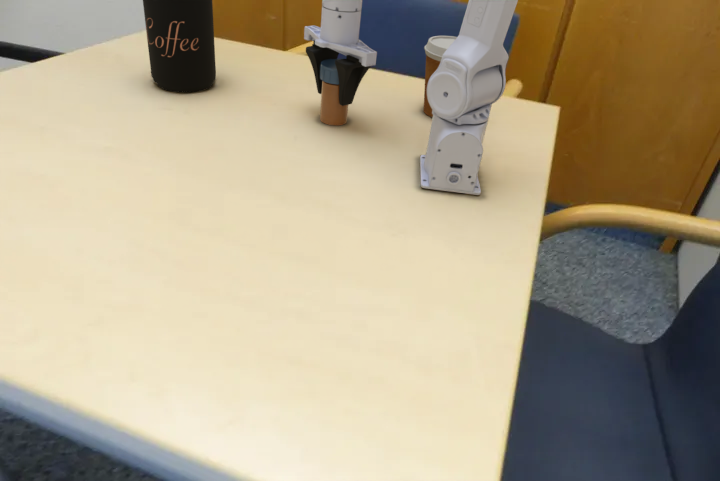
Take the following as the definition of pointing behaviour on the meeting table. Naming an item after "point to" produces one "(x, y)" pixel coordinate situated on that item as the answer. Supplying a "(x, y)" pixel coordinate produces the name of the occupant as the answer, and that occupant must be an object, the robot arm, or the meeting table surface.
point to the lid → (329, 71)
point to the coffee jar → (181, 44)
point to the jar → (332, 105)
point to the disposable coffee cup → (434, 61)
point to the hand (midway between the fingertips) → (334, 98)
